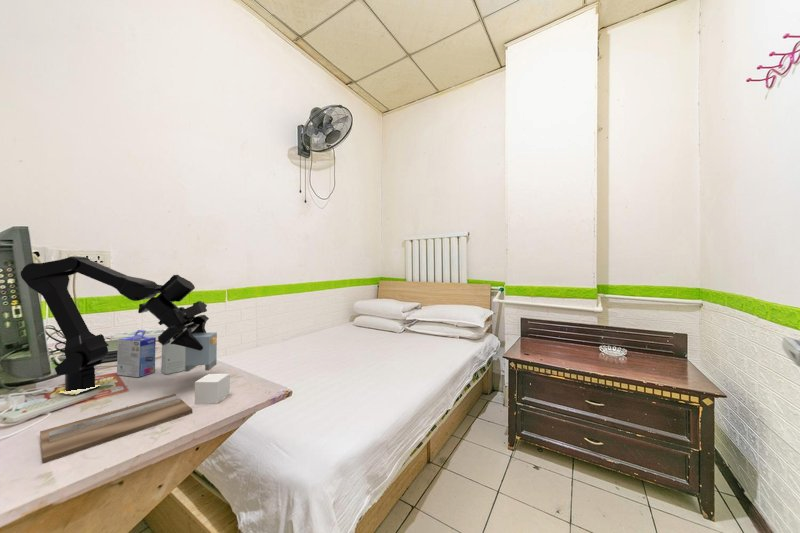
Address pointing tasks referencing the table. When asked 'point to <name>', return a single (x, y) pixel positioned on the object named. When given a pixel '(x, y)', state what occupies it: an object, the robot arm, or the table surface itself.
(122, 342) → the ink cartridge box
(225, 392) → the white cube
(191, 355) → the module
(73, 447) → the rail board
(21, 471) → the table surface
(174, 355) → the skincare box
